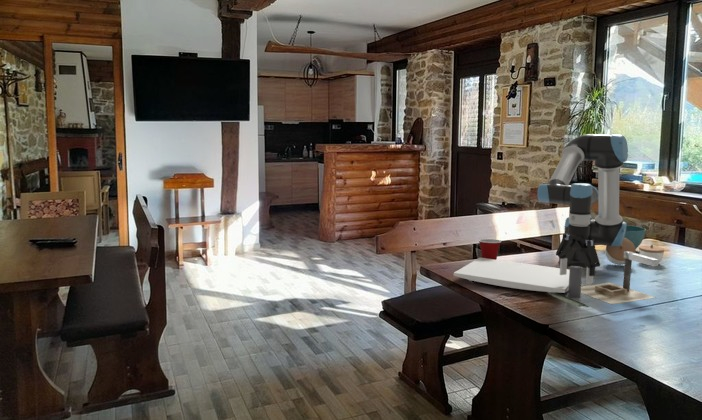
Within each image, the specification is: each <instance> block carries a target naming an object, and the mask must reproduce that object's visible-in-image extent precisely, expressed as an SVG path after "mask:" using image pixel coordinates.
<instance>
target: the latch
mask: <svg viewBox="0 0 702 420" xmlns="http://www.w3.org/2000/svg"><path fill="white" fill-rule="evenodd" d="M623 258H624V259H629V260H632V262H637V263H641V264H644V265H646V266H647V265H648V266H651V267H658V266H659V263H658V262H659V259H655V258H651V257H647V256H644V255H640V254H639V253H636V252H635V253H634V252H628V251H626V252H624V257H623Z"/></svg>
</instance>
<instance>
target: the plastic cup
mask: <svg viewBox="0 0 702 420" xmlns="http://www.w3.org/2000/svg"><path fill="white" fill-rule="evenodd" d="M478 242H479V247H480V253H481V258H486V259H494V260H498V253H499V250H500V246H501V243H502V240H500V239H493V238H492V239H487V238H483V239H478Z"/></svg>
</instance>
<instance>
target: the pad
mask: <svg viewBox="0 0 702 420" xmlns="http://www.w3.org/2000/svg"><path fill="white" fill-rule="evenodd" d="M551 297H553V298H556V299H558V300H561V301H563V302H565V303H568V304H570V305H573V306H576V307H585V306H587V304H585V303H583V302H580V301H578V300H575V299H573V298H571V297H570V298H569V296H568V297H567V296H565V295H563V294H561V293H560V294H559V292H555V293H554V294H552V295H551Z"/></svg>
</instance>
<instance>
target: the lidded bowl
mask: <svg viewBox="0 0 702 420" xmlns="http://www.w3.org/2000/svg"><path fill="white" fill-rule="evenodd" d="M636 250H637V248H636V249H635V246H634V244H633V243H632V242H631V241H630V240H628V239H626V238H624V240H623V243H622V245H621V246H607V245H605V257H606V258H607V260H608V261H609V262H610V263H611V264H613V265H616V266H617V265H618V266H619V265H620V266H622V265H625V259H624V258H623V257H624V252H626V251H628V252H634V253H636Z"/></svg>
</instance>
